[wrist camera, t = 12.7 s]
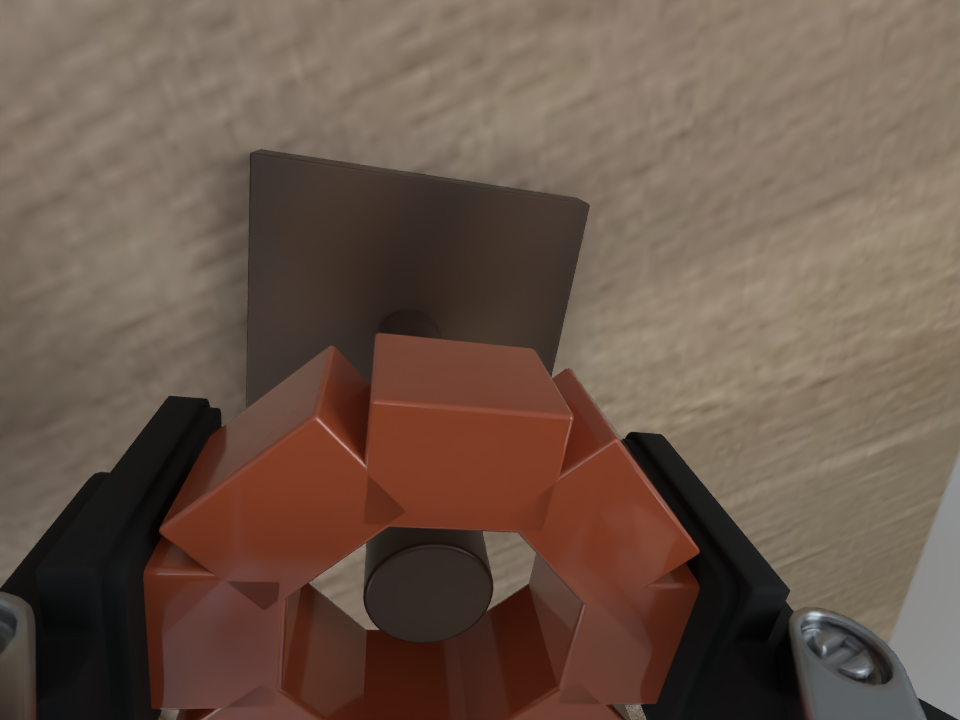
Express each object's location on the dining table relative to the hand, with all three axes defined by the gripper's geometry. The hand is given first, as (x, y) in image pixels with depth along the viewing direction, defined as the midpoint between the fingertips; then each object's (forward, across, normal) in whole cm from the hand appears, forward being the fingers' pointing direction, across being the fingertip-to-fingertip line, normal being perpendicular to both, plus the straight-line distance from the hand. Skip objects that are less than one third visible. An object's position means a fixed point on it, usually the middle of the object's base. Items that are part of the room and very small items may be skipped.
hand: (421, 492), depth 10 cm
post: (+9, 0, 0) cm, 9 cm away
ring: (-1, 0, 0) cm, 1 cm away
